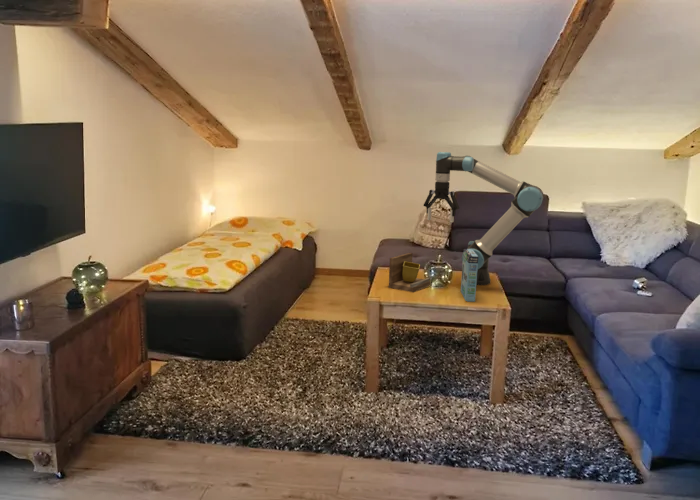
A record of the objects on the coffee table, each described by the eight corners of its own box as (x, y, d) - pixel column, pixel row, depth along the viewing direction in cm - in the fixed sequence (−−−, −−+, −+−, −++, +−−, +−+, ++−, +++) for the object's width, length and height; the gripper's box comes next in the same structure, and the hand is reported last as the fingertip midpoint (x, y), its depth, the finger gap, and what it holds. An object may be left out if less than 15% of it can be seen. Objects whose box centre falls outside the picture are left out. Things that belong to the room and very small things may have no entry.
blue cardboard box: (460, 291, 321) (463, 248, 317) (470, 292, 321) (472, 249, 316) (465, 301, 302) (468, 256, 297) (475, 302, 301) (478, 256, 297)
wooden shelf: (431, 285, 333) (433, 256, 330) (413, 292, 317) (414, 262, 314) (408, 280, 342) (409, 252, 339) (388, 287, 326) (389, 258, 323)
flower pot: (416, 284, 324) (419, 268, 322) (400, 281, 326) (402, 265, 323) (417, 279, 333) (420, 264, 330) (401, 276, 334) (404, 261, 331)
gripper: (418, 180, 331) (416, 219, 334) (460, 183, 316) (458, 224, 320) (425, 179, 336) (423, 218, 340) (467, 182, 322) (464, 222, 326)
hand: (440, 221), depth 330 cm, fingers open, 13 cm apart
